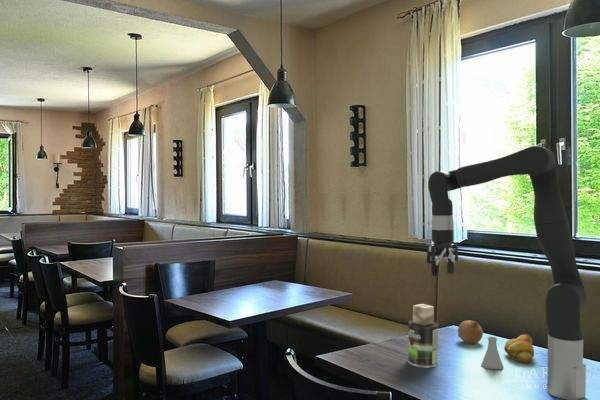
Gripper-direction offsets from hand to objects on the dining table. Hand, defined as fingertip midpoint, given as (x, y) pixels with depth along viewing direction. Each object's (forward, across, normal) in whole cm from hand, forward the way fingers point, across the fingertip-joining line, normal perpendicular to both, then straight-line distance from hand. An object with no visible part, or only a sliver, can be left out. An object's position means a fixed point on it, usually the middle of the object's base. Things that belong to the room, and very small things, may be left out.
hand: (442, 274), depth 171 cm
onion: (+31, +29, +9) cm, 43 cm away
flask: (+32, +11, -11) cm, 36 cm away
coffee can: (+31, -5, +5) cm, 32 cm away
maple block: (+17, -5, +5) cm, 18 cm away
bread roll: (+32, +27, -12) cm, 44 cm away
